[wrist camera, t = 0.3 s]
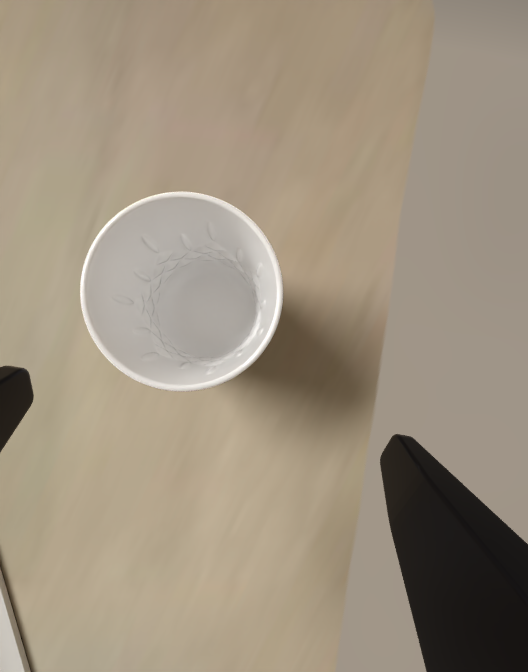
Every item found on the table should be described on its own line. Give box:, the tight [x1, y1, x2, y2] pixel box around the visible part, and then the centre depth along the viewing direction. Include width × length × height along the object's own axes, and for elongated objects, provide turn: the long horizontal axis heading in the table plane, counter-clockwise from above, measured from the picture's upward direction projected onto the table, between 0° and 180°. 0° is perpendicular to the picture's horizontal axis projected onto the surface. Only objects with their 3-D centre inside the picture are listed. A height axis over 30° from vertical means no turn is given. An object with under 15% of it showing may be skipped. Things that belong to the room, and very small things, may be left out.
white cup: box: [80, 192, 283, 392], centre depth 17 cm, size 8×8×10 cm
